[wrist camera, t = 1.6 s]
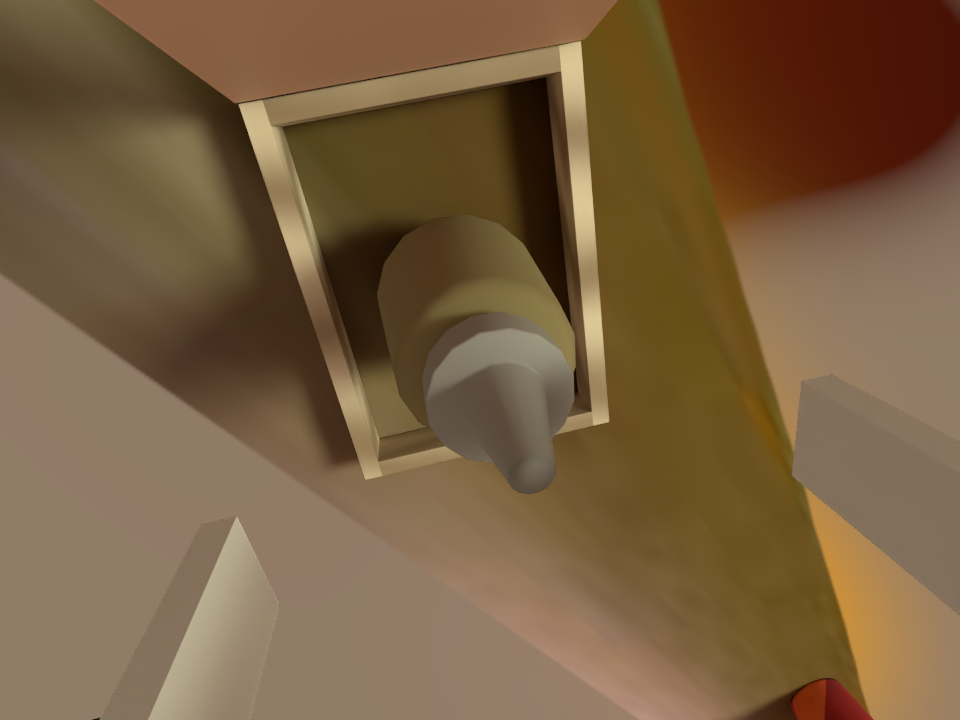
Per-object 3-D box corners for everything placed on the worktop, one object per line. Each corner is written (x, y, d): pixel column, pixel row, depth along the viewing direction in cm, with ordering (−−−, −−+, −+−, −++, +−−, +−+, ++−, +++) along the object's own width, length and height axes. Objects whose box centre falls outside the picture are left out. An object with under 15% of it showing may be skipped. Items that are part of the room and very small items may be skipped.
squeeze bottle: (514, 348, 30) (651, 590, 14) (378, 344, 29) (356, 609, 13) (531, 210, 27) (734, 316, 11) (379, 198, 26) (353, 301, 9)
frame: (253, 107, 23) (238, 104, 21) (563, 50, 24) (580, 41, 22) (367, 455, 32) (365, 479, 29) (594, 402, 33) (608, 421, 31)
